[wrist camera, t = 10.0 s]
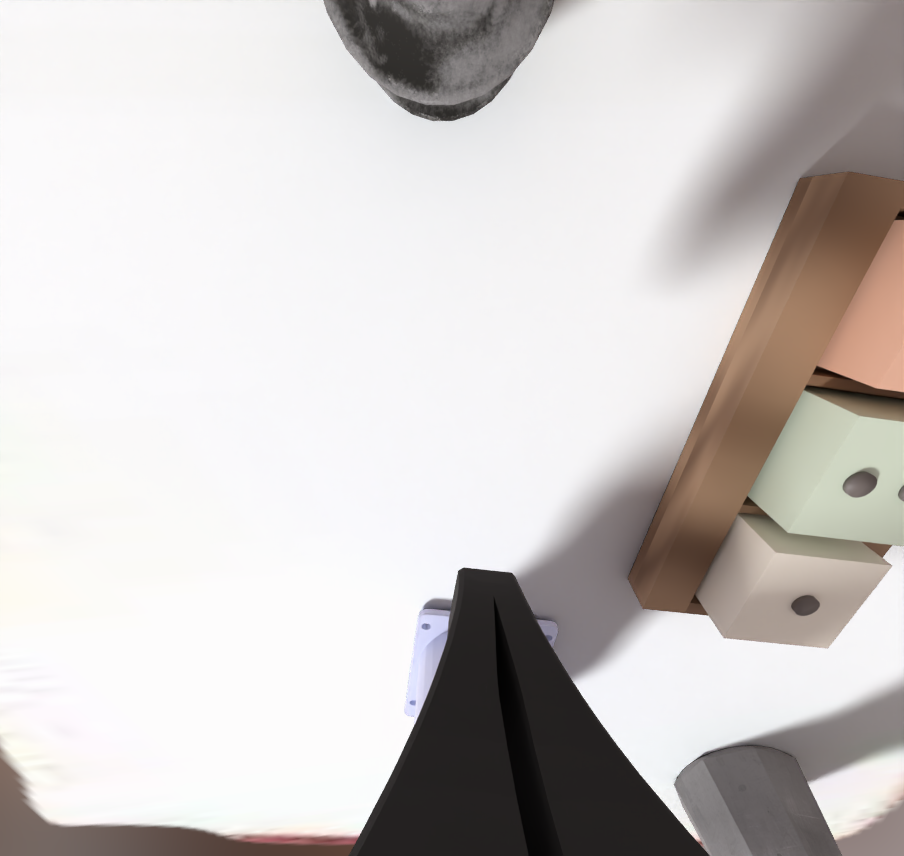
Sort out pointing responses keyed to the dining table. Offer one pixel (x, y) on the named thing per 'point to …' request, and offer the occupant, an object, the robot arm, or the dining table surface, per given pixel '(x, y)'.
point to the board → (766, 377)
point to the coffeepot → (753, 805)
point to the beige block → (786, 583)
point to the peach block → (874, 322)
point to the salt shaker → (439, 48)
